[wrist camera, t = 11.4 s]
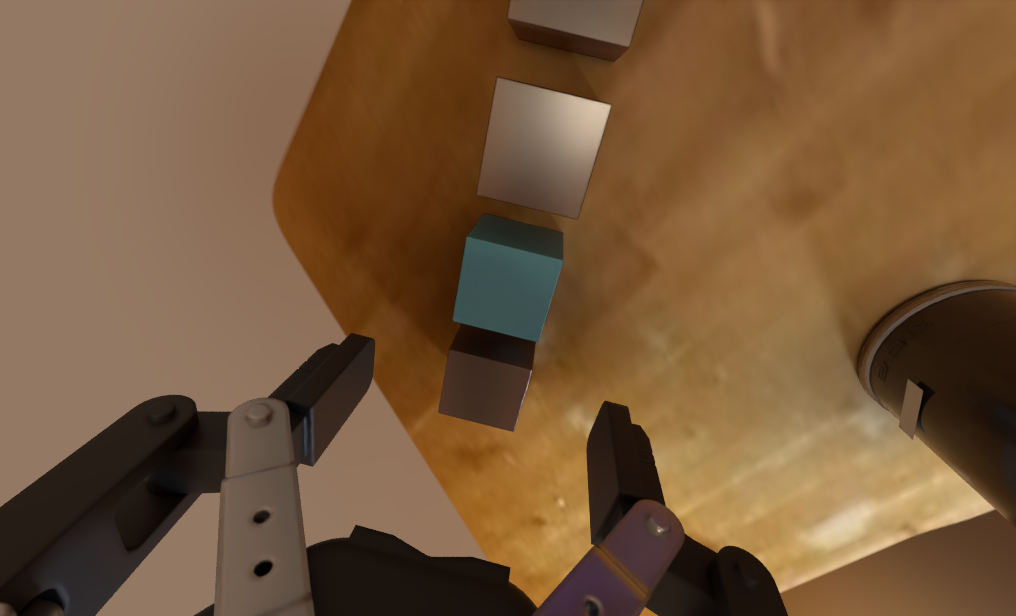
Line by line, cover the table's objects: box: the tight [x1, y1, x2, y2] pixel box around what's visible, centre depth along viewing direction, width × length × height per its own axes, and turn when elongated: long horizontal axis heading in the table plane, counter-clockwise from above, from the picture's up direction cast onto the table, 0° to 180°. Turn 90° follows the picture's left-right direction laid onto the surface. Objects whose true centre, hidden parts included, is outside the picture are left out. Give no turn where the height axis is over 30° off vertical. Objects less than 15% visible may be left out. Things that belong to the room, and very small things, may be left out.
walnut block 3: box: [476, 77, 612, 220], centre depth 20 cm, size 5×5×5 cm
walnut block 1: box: [438, 323, 536, 432], centre depth 26 cm, size 5×5×5 cm
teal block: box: [452, 214, 563, 342], centre depth 23 cm, size 5×5×5 cm
